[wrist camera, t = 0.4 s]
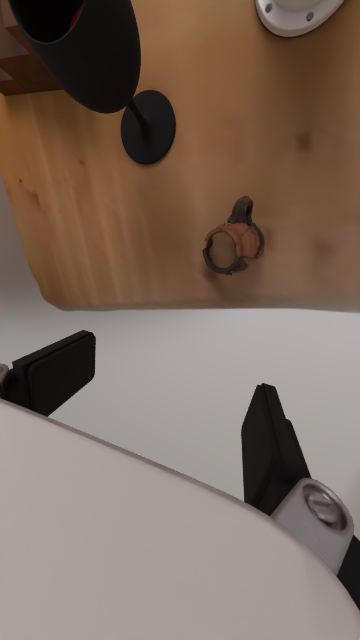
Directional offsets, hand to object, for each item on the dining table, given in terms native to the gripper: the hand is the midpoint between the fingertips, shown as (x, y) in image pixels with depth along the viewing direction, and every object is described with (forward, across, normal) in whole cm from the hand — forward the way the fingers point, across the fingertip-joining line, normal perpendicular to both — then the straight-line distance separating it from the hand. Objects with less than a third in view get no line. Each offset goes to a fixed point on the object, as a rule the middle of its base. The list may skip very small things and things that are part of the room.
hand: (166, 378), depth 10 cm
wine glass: (+31, +18, -26) cm, 44 cm away
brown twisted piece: (+31, -2, -10) cm, 32 cm away
